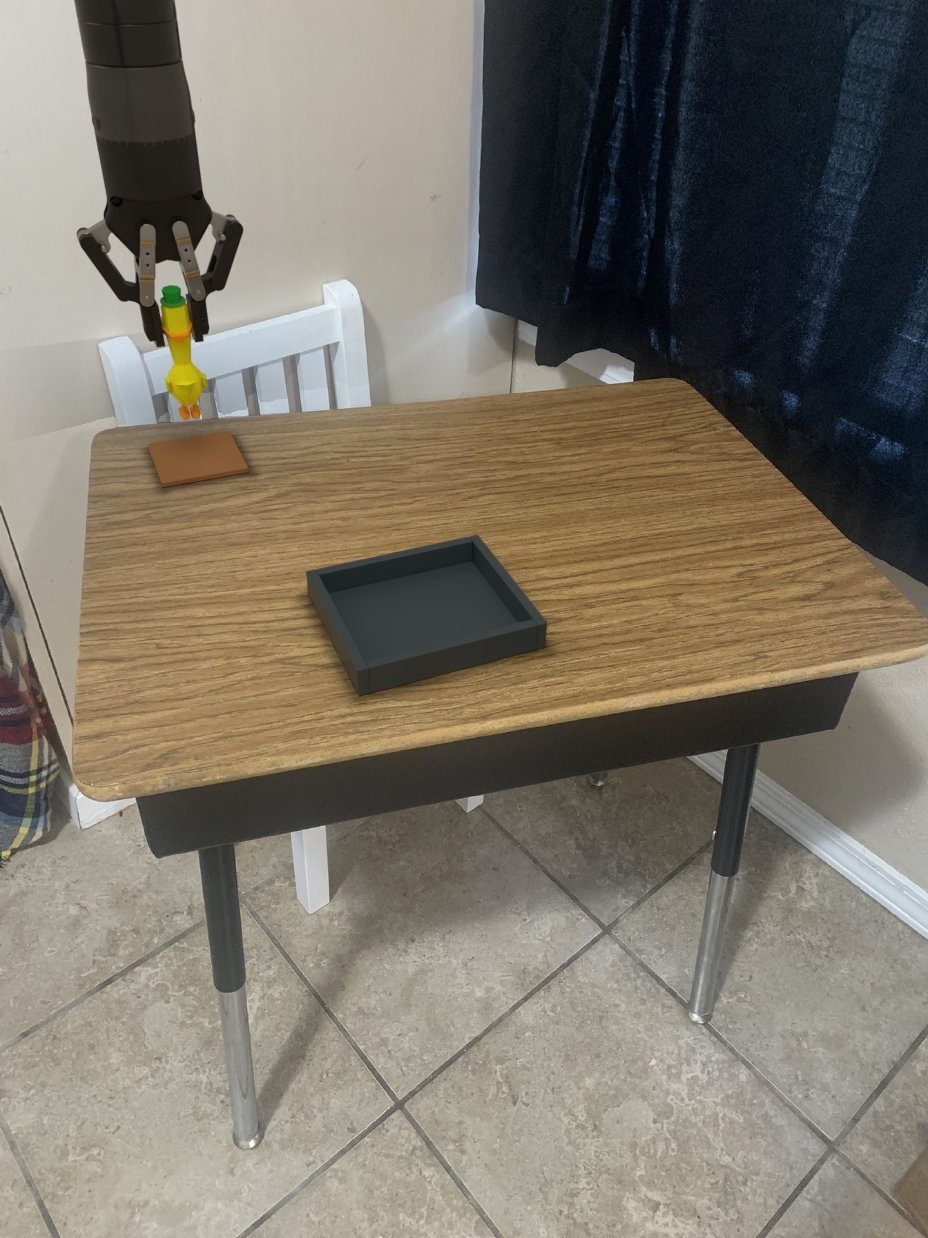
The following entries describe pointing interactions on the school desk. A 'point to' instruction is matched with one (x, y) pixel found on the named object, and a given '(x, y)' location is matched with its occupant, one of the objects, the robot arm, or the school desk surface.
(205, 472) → the coaster
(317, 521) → the school desk surface
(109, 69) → the robot arm
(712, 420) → the school desk surface
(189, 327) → the toy figure
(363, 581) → the tray
